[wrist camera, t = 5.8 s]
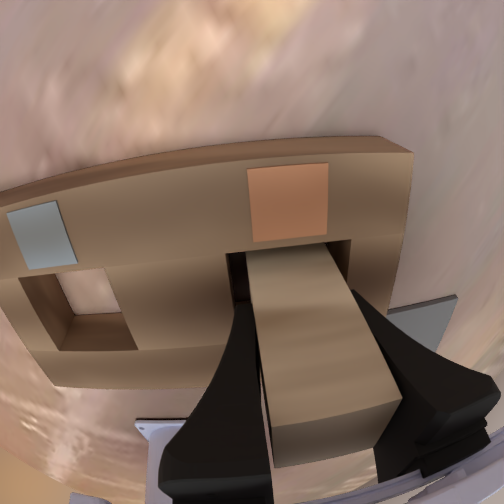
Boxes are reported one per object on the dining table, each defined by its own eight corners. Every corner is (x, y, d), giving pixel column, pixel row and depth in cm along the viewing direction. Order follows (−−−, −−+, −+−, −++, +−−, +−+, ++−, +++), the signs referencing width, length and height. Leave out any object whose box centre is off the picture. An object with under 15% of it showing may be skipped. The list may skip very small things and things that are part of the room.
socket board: (357, 326, 19) (373, 362, 17) (66, 353, 18) (54, 387, 16) (379, 136, 13) (415, 153, 10) (-9, 195, 12) (-41, 221, 10)
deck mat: (429, 356, 23) (431, 360, 22) (357, 376, 22) (358, 380, 22) (455, 294, 19) (458, 298, 19) (373, 313, 19) (375, 317, 18)
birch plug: (320, 301, 15) (373, 447, 8) (251, 310, 15) (274, 468, 8) (323, 242, 13) (402, 398, 7) (245, 250, 13) (271, 427, 7)
